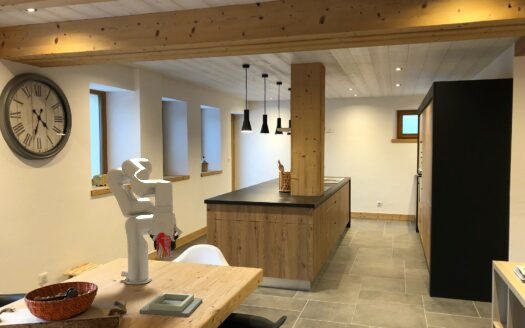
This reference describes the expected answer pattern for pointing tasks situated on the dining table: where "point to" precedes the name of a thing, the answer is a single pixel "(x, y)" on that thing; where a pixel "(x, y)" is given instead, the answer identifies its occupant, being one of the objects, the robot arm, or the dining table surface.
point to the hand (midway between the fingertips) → (164, 249)
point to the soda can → (164, 246)
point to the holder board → (172, 304)
